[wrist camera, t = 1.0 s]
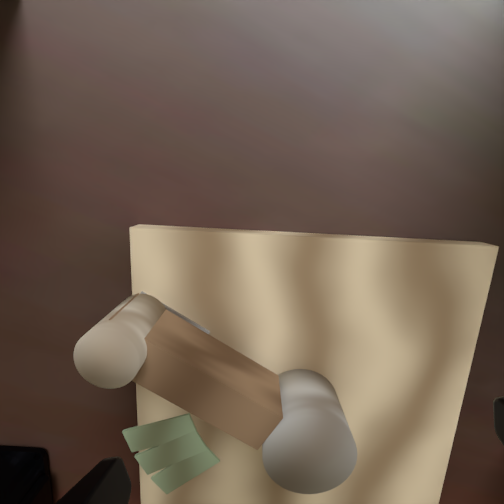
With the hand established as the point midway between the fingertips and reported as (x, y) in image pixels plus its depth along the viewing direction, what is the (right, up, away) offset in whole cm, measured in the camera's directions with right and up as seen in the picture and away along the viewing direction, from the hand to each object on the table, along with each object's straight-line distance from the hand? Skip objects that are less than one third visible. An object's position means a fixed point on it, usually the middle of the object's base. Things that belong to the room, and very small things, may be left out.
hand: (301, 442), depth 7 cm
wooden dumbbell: (-2, -3, +12) cm, 12 cm away
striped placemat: (+2, -5, +14) cm, 15 cm away
